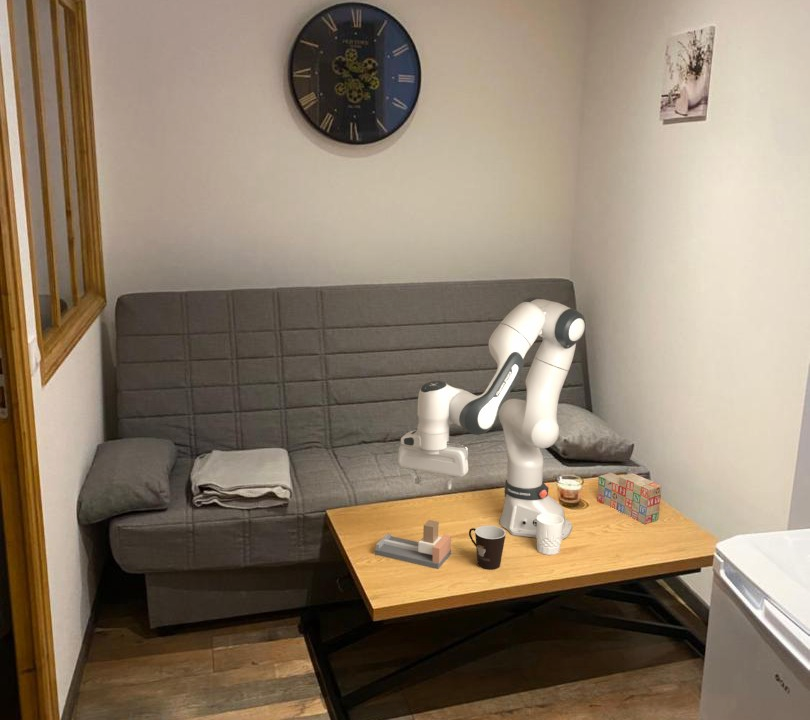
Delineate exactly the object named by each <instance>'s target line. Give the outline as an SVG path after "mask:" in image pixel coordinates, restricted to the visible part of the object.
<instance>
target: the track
mask: <svg viewBox="0 0 810 720" xmlns="http://www.w3.org/2000/svg"><path fill="white" fill-rule="evenodd" d="M441 537H442V538H441V539H440V540H439V541H438V542H437V543H436V544H435V545H434V547H433V555H430V554H426V553H422V552H418V545H419V541H415V540H410V539H407V538H401V537H397V536H394V535H393V536H392V534H391V533H386V534H385V535H384V536H383V537H382V538H381V539H380V540H379V541H378V542H376V544H375V548H374V550H373V552H374V553H373V555H377V556H380V557H383V558H389V559H393V560H397V561H402V562H407V563H411V564H414V565H418V566H419V565H420V566H424V567H427V568H432V569H437V570H439V569H440V567H442V565H443V564H444V563H446V561H447V559H448V558H449V557H450V556H451V555H452V549H451V547H452V539H451V538H452V535H449V534H443V536H441Z"/></svg>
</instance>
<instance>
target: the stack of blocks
mask: <svg viewBox="0 0 810 720" xmlns="http://www.w3.org/2000/svg"><path fill="white" fill-rule="evenodd" d="M597 481H598V488H597V497H596V499H597V502H599V503H601V504H602V505H603V504H605V506H606V505H608V506H610V507H609V508H611V507H612V508H614V509H616V510H618V511H617V512H619V511H620V512H619V513H621V512H622V513H621V514H623V513H624V514H623V515H625V514H626V515H625V516H627V515H628V516H627V517H629V516H630V517H629V518H631V517H632V518H631V519H633V520H635V519H636V520H635V521H637V522H638V523H641V524H643V525H648V524H651V523H654V521H655V522H658V521H659V514H660V513H659V511H660V503H661V498H662V497H661V496H662V487H663V485H661V484H659V483H656V482H655V481H653V480H651V479H648V478H645V477H643V476H641V475H638V474H635V473H634V472H633V473H632V472H631V473H627V474H625V475H619V474H618V475H617V474H615V473H614V472H608V473H605V474H602V475H599V476H598V480H597ZM608 506H607V507H608ZM612 508H611V509H612ZM614 509H613V510H614ZM616 510H615V511H616ZM657 520H658V521H657Z"/></svg>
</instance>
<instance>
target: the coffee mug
mask: <svg viewBox="0 0 810 720" xmlns="http://www.w3.org/2000/svg"><path fill="white" fill-rule="evenodd" d="M472 531H473V532H474V535H475V536H474V537H475V540H474V538H473V536H472ZM468 535H469V539H470V540H471V542H472V543H473V545H474V546H475V547H476V549H475V550H476V558H477V559H476V560H477V566H478V567H480V569H483V570H487V571H495V570H497V569H500V566H501V562H502V557H503V553H504V551H503V550H504V546H505V540H506V535H507V534H506V530H505V528H502V527H500V526H496V525H491V524H490V525H481V526H478V527H476V528H474V527H472V528H470V529H469V530H468Z"/></svg>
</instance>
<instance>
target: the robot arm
mask: <svg viewBox="0 0 810 720" xmlns="http://www.w3.org/2000/svg"><path fill="white" fill-rule="evenodd" d="M585 331H586V318H585V316H584V314H582V313H581V312H580V311H579V310H578V309H575V308H571V307H568V306H567V305H565V304H562V303H560V302H557V301H552V300H548V299H544V298H541V297H538V296H534V297H533V296H532V297H531V296H530V297H527V298H526V299H525V300H523V301H522V302H520V303H519V304H518V305H517V306H515V307H514V308H513V309H512V310H511V311H509V313H508V314H507V315H506V316H505V317H504V318H503V319H502V320H501V322H500V323H499V324H498V326H496V328H495V329H494V331H493V332H492V333H491V335H490V338H489V340H488V350H489V353H490V355H491V357H492V359H494V361H495V362H496V364H497V369H496V372H495V373H494V375H493V377H492V379H491V380H490V382H489V384H488V386H487V387H486V389H485V390H484V392H483V393H482V394H480V395H475V394H473V393H471V392H469V391H467V390H465V389H462V388H458V387H454V386H452V385H449V384H448V383H447V382H446V381H443V380H432V381H427V382H426V383H424V384H423V385H422V386H421V387H420V389H419V392H418V397H417V410H416V411H417V418H418V424H417V427H416V429H415V430H411V431H408V432H406V433H405V434H404V435H403V436H402V437H400V445H399V447H398V452H397V464H398V466H399V467H400V468H406V469H409V473H410V474H411V476H412V478H413V480H412V481H413V482H412V483H413V484H414V485H415V484H416V485H419V484H420V483H421V482H422V481H421V479H422V478H421V476H419V475H418V473H417V471H423V472H429V473H433V474H440V475H446V476H447V478H448V479H449V480H447V481H445V482H444V488H443V489H445V490H448V491H449V490H451V489H452V487H453V486H452V483H453V482H454V480H455V479H456V477H457V478H463V477H464V476H466V475H467V473H468V472H469V462H468V458H469V448H468V447H467V446H466V445H464V444H463V443H457V442H454V441H450V426H451V425H452V424H455V425H457V426H459V427H461V428H463V429H464V431H466V432H468V433H470V434H472V435H474V436H480V435H483V434H486V433H487V432H489V431H490V430H491V429H492V428H493V426H494V425H495V423H496V421H497V419H498V420H499V421H500V424H501V427H502V430H503V436H504V440H505V446H506V447H505V448H506V453H507V454H506V456H507V465H506V466H507V469H506V471H507V472H506V479H505V483H504V504H503V509H502V512H501V515H500V519H499V524H500V525H501V527H503V529H506V530H507V531H508V532H509V533H510V535H512V536H516V537H517V536H518V537H525V538H527V537H528V538H535V539H537V537H536V529H537V516H538V515H540V514H544V513H552V514H556V515H559V516H561V517H562V518H563V519H564V524H563V533H562V540H564V539H566V538H567V537H568V536H570V534H571V533H572V530H573V523H572V522H571V521H570V520H569V519H566V515H565V509H564V507H563V506H562V505H561V504H560V503H559V502H557V501H556V499H553V497H551V496H550V494H549V488H550V484H549V483H548V484H547V485H546V484H545V482H544V481H543V477H544V456H543V454H542V451H541V449H544V450H545V449H548V448H550V447H552V446H553V445H554V444H555V443H556V442H557V440H558V438H559V435H560V426H559V424H558V416H557V415H558V407H559V406H558V405H559V399H560V395H561V391H562V388H563V387H564V384H565V382H566V381H565V380H566V378H567V376H568V374H569V371H570V368H571V366H572V362H573V359H574V355H575V351H576V347H577V346H576V345H577V343H578V342H579V341H580V340H581V339H582V338H583V336H584V334H585ZM538 337H541V338H542V342H541V343H540V345H539V347H538V349H537V350H536V353H535V355H534V358H533V360H532V362H531V365H530V367H529V371H528V373H527V375H526V378H525V383H524V384H525V387H526V398H525V399H519V398H509V399H507V398H508V396H509V394H510V392H511V390H512V389H513V387H514V385H516V382H517V381H518V379H519V377H520V375H521V373H522V371H523V368H524V365H525V364H524V358H525V356H526V354H527V352H528V351H529V350H530V349H531V347H532V346H533V344H534V342H536V340H537V338H538ZM506 399H507V400H506Z"/></svg>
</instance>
